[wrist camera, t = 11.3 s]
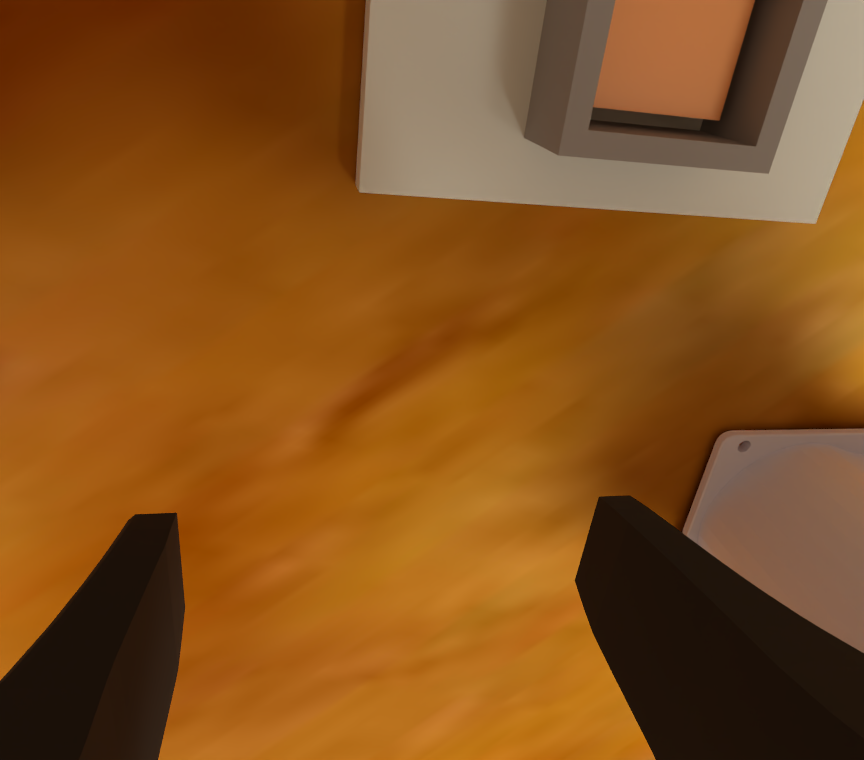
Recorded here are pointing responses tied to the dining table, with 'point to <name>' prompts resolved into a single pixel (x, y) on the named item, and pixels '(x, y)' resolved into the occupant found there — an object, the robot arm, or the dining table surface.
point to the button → (672, 56)
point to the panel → (601, 111)
